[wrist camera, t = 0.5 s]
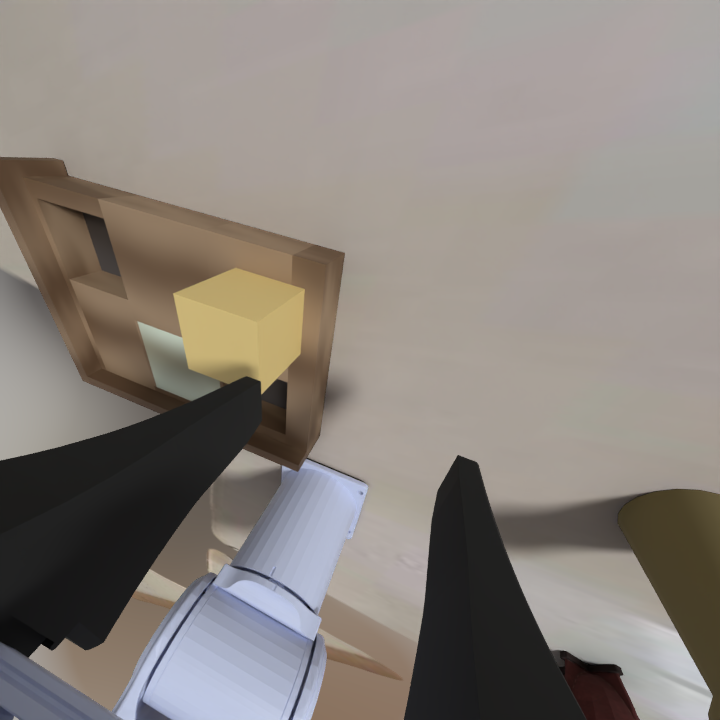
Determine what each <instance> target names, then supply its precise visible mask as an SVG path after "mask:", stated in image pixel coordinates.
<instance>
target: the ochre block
mask: <svg viewBox="0 0 720 720" xmlns="http://www.w3.org/2000/svg"><path fill="white" fill-rule="evenodd" d="M304 293H305V289H303V288H299V287H296V286H293V285H290V284H287V283H283V282H280V281H277V280H274V279H270V278H267V277H264V276H261V275H257V274H254V273H251V272H248V271H244V270H241V269H238V268H234V269H231V270H229V271H226V272H224V273H222V274H219V275H217V276H214V277H212V278H210V279H207V280H205V281H202V282H200V283H197V284H195V285H193V286H190V287H188V288H185V289H183V290H181V291H178V292H176V293H173V295H174V300H175V305H176V310H177V314H178V319H179V324H180V329H181V334H182V339H183V344H184V349H185V354H186V359H187V363H188V368H189V369H191V370H193V371H196V372H198V373H201V374H203V375H206V376H209V377H211V378H214V379H216V380H219V381H222V382H224V383H227V384H230V383H232V382H234V381H236V380H238V379H241V378H243V377H245V376H248V377H251V378H253V379H256V380H259V381H261V395H262V394H263V393H264V391H265V390H266V389H267V388H268V387H269V386H270V385H271V384H272V383H273V382H274V381H275V380H276V379H277V378H278V377H279V376H280V375H281V374H282V373H283V372H284V371H285V370H286V369H287V368H288V367H289V365H290V364H291V363H292V362H293V361H294V360H295V359H296V358H297V357H298V356H299V355H300V354H301V338H302V323H303V308H304Z"/></svg>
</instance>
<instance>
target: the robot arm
mask: <svg viewBox="0 0 720 720" xmlns="http://www.w3.org/2000/svg"><path fill="white" fill-rule="evenodd" d="M261 421H262V398H261V381H259V380H256V379H253V378H251V377H248V376H245V377H243V378H241V379H238V380H236V381H234V382H232V383H230V384H228V385H225V386H223V387H221V388H219V389H217V390H215V391H213V392H211V393H208V394H206V395H204V396H202V397H200V398H197V399H195V400H193V401H191V402H189V403H186V404H184V405H182V406H179V407H177V408H174V409H172V410H169V411H167V412H165V413H162V414H160V415H157V416H155V417H152V418H150V419H147V420H145V421H142V422H139V423H136V424H134V425H131V426H128V427H125V428H122V429H119V430H116V431H113V432H110V433H107V434H103V435H100V436H97V437H93V438H90V439H86V440H83V441H79V442H75V443H72V444H68V445H65V446H62V447H58V448H54V449H50V450H45V451H41V452H38V453H33V454H29V455H24V456H20V457H15V458H11V459H6V460H1V461H0V720H13V718H14V716H15V717H17V718H18V719H19V720H311V717H312V714H313V711H314V708H315V705H316V702H317V698H318V695H319V691H320V688H321V684H322V680H323V676H324V671H325V666H326V658H327V653H326V649H325V645H324V643H325V642H324V637H323V636H322V635H320V634H319V633H317V631H318V628H319V625H320V623H321V617H319V616H318V613H319V611H320V608H321V605H322V602H323V600H324V597H325V594H326V591H327V589H328V586H329V583H330V580H331V578H332V575H333V572H334V570H335V567H336V564H337V561H338V559H339V556H340V553H341V550H342V548H343V545H344V542H345V539H346V538H347V539H351V538H352V536H353V533H354V530H355V527H356V523H357V520H358V517H359V514H360V511H361V508H362V505H363V502H364V499H365V496H366V493H367V490H368V486H367V484H365V483H364V482H361V481H359V480H356V479H354V478H352V477H349V476H347V475H344V474H342V473H339V472H337V471H335V470H332V469H330V468H327V467H325V466H323V465H320V464H318V463H315V462H313V461H311V460H308V459H306V460H305V461H304V463H303V465H302V466H301V468H300V470H299V471H298V472H297V471H294V470H292V469H290V468H287V467H285V466H282V479H281V485H280V486H279V488H278V490H277V491H276V493H275V494H274V496H273V498H272V499H271V501H270V502H269V504H268V506H267V507H266V509H265V510H264V512H263V513H262V515H261V517H260V518H259V520H258V521H257V523H256V525H255V526H254V528H253V529H252V531H251V532H250V534H249V536H248V537H247V539H246V540H245V542H244V544H243V545H242V547H241V548H240V550H239V552H238V553H237V555H236V556H235V558H234V559H233V561H232V563H231V564H230V565H228V564H225V565H224V566H223V568H222V569H221V571H220V572H219V574H218V575H216V574H214V573H212V572H210V573H208V574H206V575H205V576H202V577H200V578H198V579H196V580H195V581H194V582H193V583H192V584H191V585H190V586H189V587H188V588H187V589H186V590H185V591H184V593H183V594H182V595H181V596H180V598H179V599H178V600H177V601H176V603H175V604H174V605H173V607H172V608H171V610H170V611H169V612H168V614H167V615H166V617H165V618H164V620H163V621H162V622H161V624H160V625H159V627H158V629H157V630H156V632H155V633H154V635H153V636H152V638H151V640H150V641H149V643H148V644H147V646H146V648H145V650H144V651H143V653H142V655H141V657H140V659H139V661H138V663H137V665H136V667H135V669H134V671H133V674H132V678H131V679H130V681H129V683H128V685H127V687H126V688H125V690H124V692H123V694H122V696H121V697H120V699H119V700H118V702H117V704H116V705H115V707H114V709H113V710H112V712H111V711H109V710H108V709H106V708H105V707H103V706H102V705H100V704H99V703H97V702H96V701H94V700H92V699H91V698H89V697H88V696H86V695H85V694H83V693H82V692H80V691H78V690H77V689H75V688H74V687H72V686H71V685H69V684H68V683H66V682H65V681H63V680H62V679H60V678H59V677H57V676H55V675H54V674H52V673H51V672H49V671H48V670H46V669H45V668H43V667H42V666H40V665H39V664H37V663H35V662H34V661H32V660H31V659H29V656H30V655H31V654H32V653H33V652H34V651H35V650H36V649H37V648H38V647H39V646H40V644H42V645H44V646H45V647H47V648H49V649H50V650H54V649H55V648H56V647H57V646H58V645H59V644H60V643H61V642H62V641H63V640H64V638H66V639H68V640H70V641H72V642H73V643H75V644H76V645H78V646H79V647H81V648H83V649H84V650H89V649H92V648H94V647H96V646H98V645H100V644H102V643H103V642H104V641H105V639H106V638H107V636H108V634H109V633H110V631H111V629H112V628H113V626H114V624H115V622H116V621H117V619H118V618H119V616H120V615H121V613H122V611H123V610H124V608H125V606H126V605H127V603H128V602H129V600H130V598H131V597H132V595H133V593H134V592H135V590H136V589H137V587H138V586H139V584H140V583H141V581H142V580H143V578H144V577H145V575H146V573H147V572H148V570H149V569H150V567H151V566H152V564H153V563H154V561H155V560H156V558H157V557H158V555H159V554H160V552H161V551H162V549H163V548H164V547H165V545H166V544H167V542H168V541H169V539H170V538H171V536H172V535H173V534H174V532H175V531H176V529H177V528H178V527H179V525H180V524H181V522H182V521H183V519H184V518H185V517H186V516H187V514H188V513H189V511H190V510H191V509H192V507H193V506H194V505H195V503H196V502H197V501H198V500H199V498H200V497H201V496H202V495H203V493H204V492H205V491H206V490H207V489H208V488H209V487H210V485H211V484H212V483H213V482H214V481H215V480H216V479H217V477H218V476H219V475H220V474H221V473H222V472H223V471H224V469H225V468H226V467H227V466H228V465H229V464H230V463H231V461H232V460H233V459H234V458H235V457H236V456H237V454H238V453H239V452H240V451H241V450H242V449H243V447H244V446H245V445H246V444H247V442H248V441H249V439H250V438H251V437H252V435H253V434H254V432H255V431H256V429H257V428H258V426H259V425H260V423H261ZM404 720H587V719H586V717H585V715H584V713H583V711H582V710H581V708H580V706H579V704H578V702H577V700H576V698H575V697H574V695H573V693H572V691H571V689H570V687H569V685H568V684H567V682H566V680H565V678H564V676H563V674H562V672H561V671H560V669H559V667H558V665H557V663H556V661H555V659H554V657H553V655H552V653H551V651H550V649H549V647H548V645H547V643H546V641H545V639H544V637H543V635H542V633H541V631H540V629H539V627H538V625H537V622H536V620H535V618H534V616H533V614H532V612H531V610H530V607H529V605H528V603H527V601H526V598H525V596H524V594H523V592H522V589H521V587H520V585H519V582H518V580H517V577H516V575H515V573H514V570H513V568H512V565H511V563H510V560H509V558H508V555H507V552H506V550H505V547H504V544H503V542H502V539H501V536H500V533H499V530H498V527H497V525H496V522H495V519H494V516H493V513H492V510H491V507H490V503H489V500H488V497H487V494H486V490H485V487H484V483H483V480H482V476H481V472H480V469H479V465H478V463H477V462H475V461H472V460H469V459H467V458H464V457H461V456H459V455H458V456H457V458H456V459H455V461H454V463H453V465H452V466H451V468H450V470H449V472H448V473H447V475H446V477H445V479H444V480H443V482H442V484H441V486H440V487H439V489H438V492H437V497H436V502H435V506H434V512H433V517H432V523H431V534H430V545H429V557H428V569H427V581H426V593H425V603H424V611H423V618H422V624H421V630H420V635H419V641H418V647H417V653H416V659H415V664H414V669H413V675H412V680H411V686H410V691H409V697H408V702H407V707H406V712H405V717H404Z"/></svg>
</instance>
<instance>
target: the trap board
mask: <svg viewBox="0 0 720 720" xmlns="http://www.w3.org/2000/svg"><path fill="white" fill-rule="evenodd" d="M0 208H1V210H2V212H3V214H4V216H5V218H6V220H7V222H8V224H9V227H10V229H11V231H12V233H13V235H14V237H15V239H16V241H17V243H18V245H19V248H20V250H21V252H22V254H23V256H24V258H25V260H26V262H27V264H28V266H29V269H30V271H31V273H32V275H33V277H34V279H35V281H36V283H37V285H38V287H39V290H40V292H41V294H42V296H43V298H44V300H45V302H46V304H47V306H48V308H49V310H50V313H51V315H52V317H53V319H54V321H55V323H56V325H57V327H58V329H59V332H60V334H61V336H62V338H63V340H64V342H65V344H66V346H67V348H68V350H69V353H70V355H71V357H72V359H73V361H74V363H75V365H76V367H77V369H78V371H79V373H80V376H81V377H82V380H83V381H85V382H87V383H89V384H92V385H94V386H97V387H99V388H101V389H104V390H106V391H108V392H111V393H113V394H115V395H118V396H120V397H122V398H125V399H127V400H129V401H132V402H135V403H137V404H139V405H141V406H144V407H146V408H149V409H151V410H153V411H156V412H158V413H160V414H162V413H165V412H167V411H169V410H172V409H174V408H177V407H179V406H182V405H184V404H186V403H189V402H191V401H193V400H195V399H197V398H200V397H202V396H204V395H206V394H208V393H211V392H213V391H215V390H217V389H219V388H221V387H223V386H225V385H228V384H227V383H224V382H222V381H219V380H216V379H214V378H211V377H209V376H206V375H203V374H201V373H198V372H196V371H193V370H191V369H189V368H188V363H187V359H186V354H185V349H184V344H183V339H182V334H181V329H180V324H179V319H178V314H177V310H176V305H175V300H174V295H173V293H176V292H178V291H181V290H183V289H185V288H188V287H190V286H193V285H195V284H197V283H200V282H202V281H205V280H207V279H210V278H212V277H214V276H217V275H219V274H222V273H224V272H226V271H229V270H231V269H234V268H238V269H241V270H244V271H248V272H251V273H254V274H257V275H261V276H264V277H267V278H270V279H274V280H277V281H280V282H283V283H287V284H290V285H293V286H296V287H299V288H303V289H305V293H304V308H303V323H302V338H301V354H300V355H299V356H298V357H297V358H296V359H295V360H294V361H293V362H292V363H291V364H290V365H289V367H288V368H287V369H286V370H285V371H284V372H283V373H282V374H281V375H280V376H279V377H278V378H277V379H276V380H275V381H274V382H273V383H272V384H271V385H270V386H269V387H268V388H267V389H266V390H265V391H264V393H263V394H262V395H261V398H262V421H261V423H260V425H259V426H258V428H257V429H256V431H255V432H254V434H253V435H252V437H251V438H250V439H249V441H248V442H247V444H246V445H245V446H244V447H243V449H245V450H247V451H250V452H252V453H254V454H257V455H259V456H261V457H264V458H266V459H268V460H271V461H273V462H275V463H278V464H280V465H282V466H285V467H287V468H290V469H292V470H294V471H297V472H298V471H299V470H300V468H301V466H302V465H303V463H304V461H305V460H306V458H307V456H308V455H309V453H310V451H311V450H312V448H313V446H314V445H315V443H316V441H317V440H318V438H319V436H320V429H321V422H322V415H323V408H324V400H325V393H326V386H327V379H328V371H329V364H330V357H331V350H332V342H333V335H334V328H335V320H336V313H337V306H338V299H339V291H340V284H341V277H342V270H343V262H344V255H345V253H343V252H339V251H335V250H332V249H328V248H325V247H321V246H318V245H314V244H310V243H307V242H303V241H300V240H296V239H293V238H289V237H285V236H282V235H278V234H275V233H271V232H267V231H264V230H260V229H257V228H253V227H250V226H246V225H242V224H239V223H235V222H232V221H228V220H225V219H221V218H217V217H214V216H210V215H207V214H203V213H200V212H196V211H192V210H189V209H185V208H182V207H178V206H175V205H171V204H167V203H164V202H160V201H157V200H153V199H150V198H146V197H142V196H139V195H135V194H132V193H128V192H125V191H121V190H117V189H114V188H110V187H107V186H103V185H100V184H96V183H92V182H89V181H85V180H82V179H78V178H74V177H71V176H68V174H67V171H66V168H65V165H64V163H63V161H62V160H58V159H54V158H18V157H0Z"/></svg>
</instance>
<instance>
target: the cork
mask: <svg viewBox="0 0 720 720" xmlns="http://www.w3.org/2000/svg"><path fill="white" fill-rule="evenodd" d="M618 525H619V527H620V528H621V530H622V532H623V534H624V536H625V537H626V539H627V541H628V543H629V545H630V546H631V548H632V550H633V552H634V554H635V555H636V557H637V559H638V561H639V563H640V565H641V566H642V568H643V570H644V572H645V574H646V575H647V577H648V579H649V581H650V583H651V584H652V586H653V588H654V590H655V592H656V593H657V595H658V597H659V599H660V601H661V603H662V604H663V606H664V608H665V610H666V612H667V613H668V615H669V617H670V619H671V621H672V622H673V624H674V626H675V628H676V630H677V631H678V633H679V635H680V637H681V639H682V641H683V642H684V644H685V646H686V648H687V650H688V651H689V653H690V655H691V657H692V659H693V660H694V662H695V664H696V666H697V668H698V669H699V671H700V673H701V675H702V677H703V679H704V680H705V682H706V684H707V686H708V688H709V689H710V691H711V693H712V695H713V698H712V701H711V705H710V709H709V712H708V716H709V720H720V494H715V493H711V492H706V491H701V490H684V489H674V490H665V491H656V492H652V493H649V494H646V495H642V496H639V497H636V498H635V499H633V500H632V501H630V502H628V503H627V504H625V505H624V506H623V508H622V509H621V510H620V512H619V513H618Z"/></svg>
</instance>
